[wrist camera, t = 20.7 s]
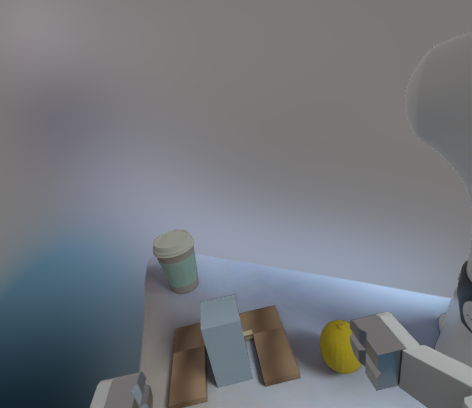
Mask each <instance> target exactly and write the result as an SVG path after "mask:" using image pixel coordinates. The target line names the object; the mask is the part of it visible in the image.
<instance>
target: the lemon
mask: <svg viewBox="0 0 472 408" xmlns="http://www.w3.org/2000/svg"><path fill="white" fill-rule="evenodd" d="M352 333H353V332H352V330H351V329H350V323H348V322H346V321H343V320H335V321H331V322H330V323H328V324H327V325H326V326H325V327H324V329H323V331H322V333H321V337H320V349H321V354H322V356H323V358H324V361H325V362H326V363H327V365H328V366H329V367H330V368H332V369H333V370H334V371H336V372H338V373H342V374H350V373H353V372H355V371H357V370H358V369H359V368H360V366H361V363H359V362H358V360H357V358H356V357H355V355H354V353H353V350H352V347H351V344H350V335H351V334H352Z"/></svg>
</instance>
